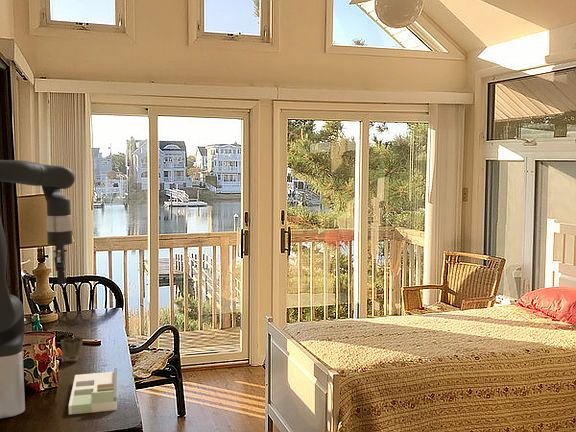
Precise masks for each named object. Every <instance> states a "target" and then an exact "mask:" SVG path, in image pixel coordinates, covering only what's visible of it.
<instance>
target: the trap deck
mask: <svg viewBox="0 0 576 432" xmlns="http://www.w3.org/2000/svg"><path fill="white" fill-rule="evenodd" d="M111 383H114V392H113V390H111V391H100V392H97V386H98V385H100V384H111ZM71 388H72V389H71V392H70V397H69V402H68V415H78V414H79V415H80V414H88V413H98V412H100V413H101V412H107V411H108V412H109V411H117V410H118V368H117V367H114V370H113V371H106V372H96V373H95V372H94V373H92V372H91V373H83V374H75V375H74V379H73V384H72V387H71Z"/></svg>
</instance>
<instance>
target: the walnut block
mask: <svg viewBox="0 0 576 432" xmlns="http://www.w3.org/2000/svg"><path fill="white" fill-rule="evenodd" d="M111 390H113V392H114V383H111V384H100V385H98V386H97V392H100V391H111Z"/></svg>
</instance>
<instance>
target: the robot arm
mask: <svg viewBox="0 0 576 432" xmlns="http://www.w3.org/2000/svg"><path fill="white" fill-rule="evenodd" d="M75 180H76V176H75V173H74V172H73V170H72V169H71V168H69V167H67V166H63V165H52V164H51V165H50V164H43V163H38V162H33V161H28V160H20V159H18V160H17V159H15V160H14V159H0V182H3V183H4V182H6V183H13V184H19V185H26V186H32V187H34V186H35V187H41V189H42V192H43V195H44V198H45V201H46V215H47V216H46V240H47V241H46V243H47V245H48V246H54V247H55V249H54V250H53V251H52V254H53V261H54V266H55V271H56V275H57V285H64V284H65V283H66V268H67V263H68V262H67V260H68V257H67V255H68V249H66V246H69V245H71V244H73V223H72V216H71V215H72V214H71V201H70V198H69V197H67V196H64V195H63V194H62V191H61V190H66V189H69V188H71V187H72V186H73V185H74V183H75ZM7 260H8V247H7V241H6V235H5V231H4V227H3V223H2V218H1V215H0V419H5V418H10V417H15V416H17V415H20V414H22V413H24V412H25V411H26V401H25V381H24V379H25V375H24V373H25V372H24V354H23V353H24V351H23V349H24V348H23V345H24V341H25V310H24V306H23V303H22V301H21V300H20V299H19V297H17V296H16V295H14V294H11V293H10V292H9V289H8V288H9V287H8V283H7V263H8V262H7Z"/></svg>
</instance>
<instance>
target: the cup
mask: <svg viewBox="0 0 576 432" xmlns="http://www.w3.org/2000/svg"><path fill="white" fill-rule="evenodd" d="M83 340H84V339H83V338H82V337H80V336H73V338H71V337H69V336H68V337H63V339H62V338H61V340H60V345H61V350H62V354H63V356H64V357H65V358H66V361H67V362H68V363H69V362H70V363H73V362H77V361H78V359H79V356H80V355H81V354H82V350H83Z"/></svg>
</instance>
